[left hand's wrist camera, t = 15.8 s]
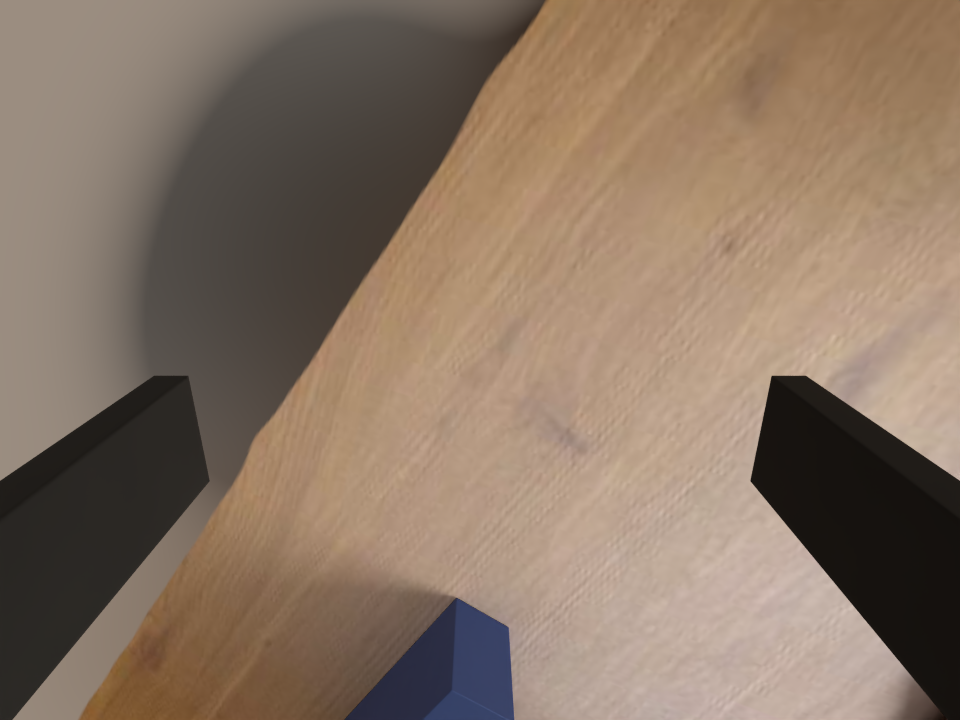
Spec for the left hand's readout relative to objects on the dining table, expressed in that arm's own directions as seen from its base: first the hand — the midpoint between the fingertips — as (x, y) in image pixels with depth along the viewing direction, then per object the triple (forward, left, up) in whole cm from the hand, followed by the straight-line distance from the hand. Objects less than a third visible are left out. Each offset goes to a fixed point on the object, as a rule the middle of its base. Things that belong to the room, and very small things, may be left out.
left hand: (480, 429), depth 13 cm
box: (+36, +27, -29) cm, 54 cm away
